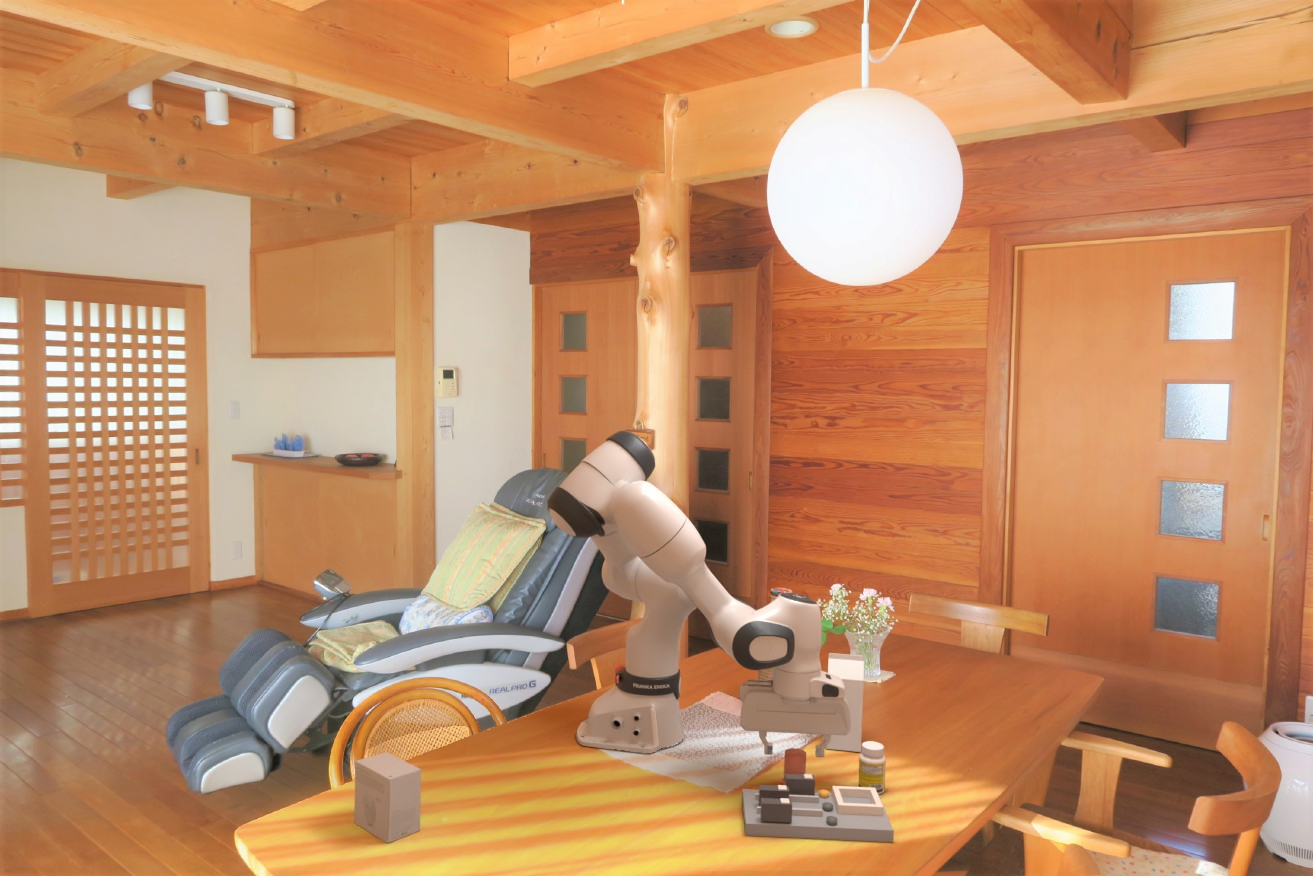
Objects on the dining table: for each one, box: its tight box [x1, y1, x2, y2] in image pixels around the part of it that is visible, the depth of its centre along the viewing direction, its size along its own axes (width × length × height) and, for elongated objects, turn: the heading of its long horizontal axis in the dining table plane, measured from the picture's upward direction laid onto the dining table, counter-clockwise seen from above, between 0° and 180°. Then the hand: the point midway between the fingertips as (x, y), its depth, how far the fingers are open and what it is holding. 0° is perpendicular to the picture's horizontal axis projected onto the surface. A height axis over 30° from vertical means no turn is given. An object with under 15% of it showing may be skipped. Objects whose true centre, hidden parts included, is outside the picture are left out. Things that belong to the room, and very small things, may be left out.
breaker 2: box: [760, 798, 792, 823], centre depth 152 cm, size 5×2×3 cm, turn 87°
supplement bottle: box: [858, 740, 887, 796], centre depth 169 cm, size 5×5×8 cm
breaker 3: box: [785, 773, 816, 796], centre depth 162 cm, size 5×2×3 cm, turn 87°
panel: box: [741, 785, 894, 843], centre depth 157 cm, size 24×13×4 cm, turn 87°
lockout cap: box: [781, 747, 807, 785], centre depth 171 cm, size 5×5×6 cm
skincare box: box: [353, 751, 422, 844], centre depth 151 cm, size 10×6×10 cm, turn 48°
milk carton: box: [825, 652, 865, 753], centre depth 190 cm, size 7×7×19 cm
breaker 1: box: [758, 784, 789, 806], centre depth 157 cm, size 5×2×3 cm, turn 87°
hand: (793, 755), depth 170 cm, fingers open, 8 cm apart
